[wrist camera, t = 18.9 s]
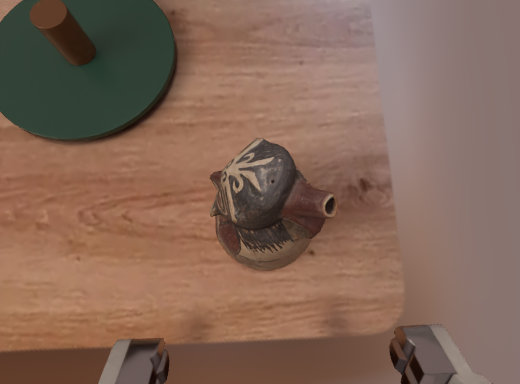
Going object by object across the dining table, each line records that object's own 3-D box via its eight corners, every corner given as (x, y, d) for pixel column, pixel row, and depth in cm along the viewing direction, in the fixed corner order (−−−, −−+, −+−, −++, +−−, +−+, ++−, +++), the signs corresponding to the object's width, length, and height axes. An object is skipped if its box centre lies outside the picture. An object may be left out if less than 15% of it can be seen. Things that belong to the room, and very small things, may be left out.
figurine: (251, 161, 24) (248, 63, 12) (326, 208, 23) (401, 152, 11) (199, 235, 22) (140, 204, 11) (278, 288, 22) (306, 317, 10)
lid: (209, 29, 27) (199, -26, 22) (116, 176, 23) (78, 151, 18) (65, -33, 28) (23, -98, 23) (-44, 97, 25) (-120, 54, 20)
